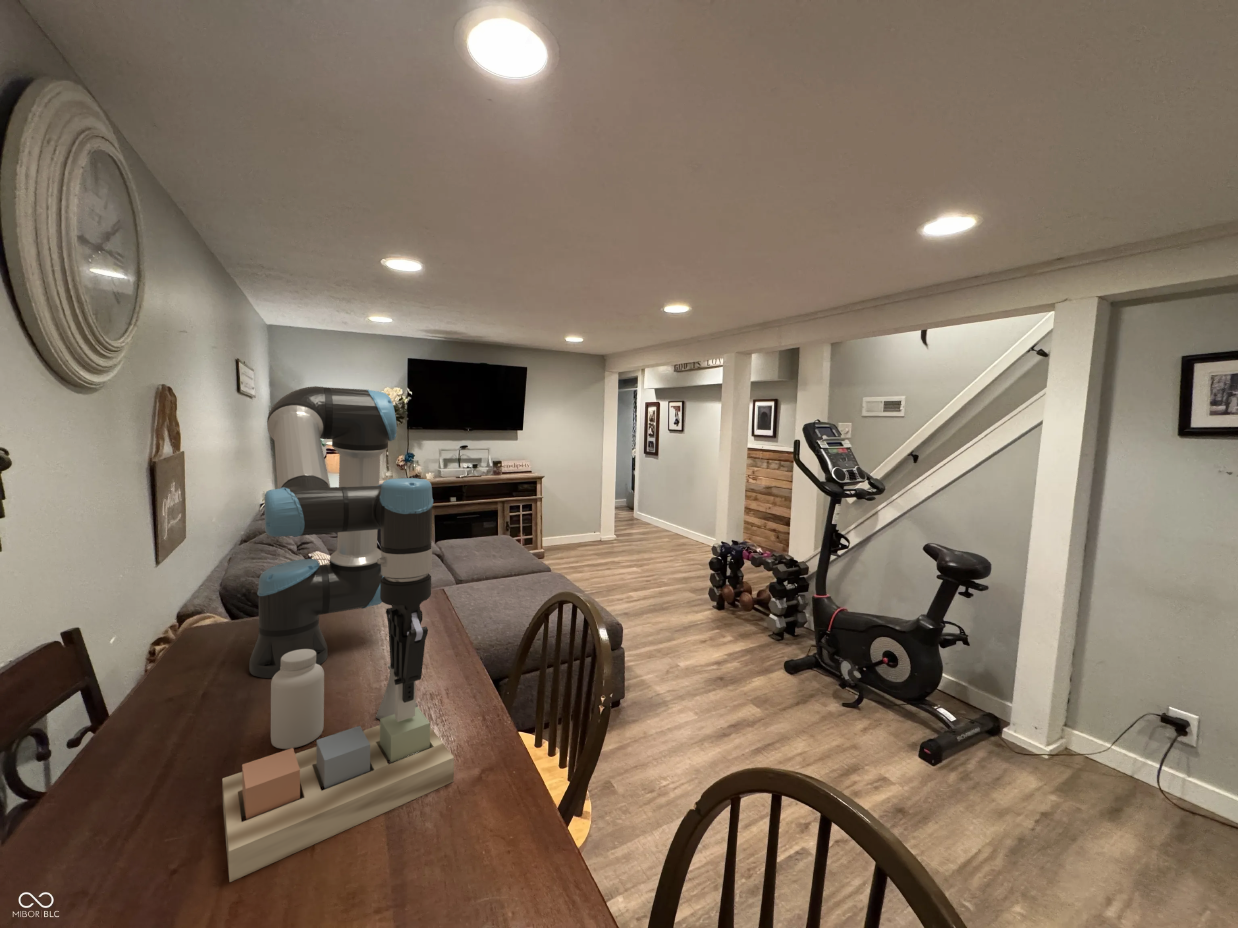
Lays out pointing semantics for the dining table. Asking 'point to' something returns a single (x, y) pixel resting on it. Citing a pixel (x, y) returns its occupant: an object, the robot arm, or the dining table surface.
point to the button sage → (404, 735)
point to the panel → (328, 803)
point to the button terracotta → (270, 782)
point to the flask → (389, 698)
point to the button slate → (343, 756)
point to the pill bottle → (297, 700)
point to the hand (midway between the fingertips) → (405, 716)
